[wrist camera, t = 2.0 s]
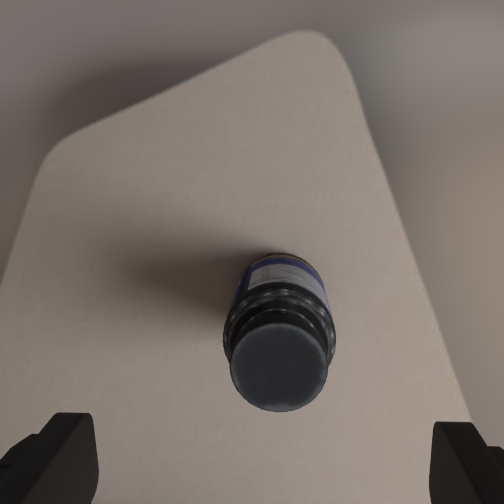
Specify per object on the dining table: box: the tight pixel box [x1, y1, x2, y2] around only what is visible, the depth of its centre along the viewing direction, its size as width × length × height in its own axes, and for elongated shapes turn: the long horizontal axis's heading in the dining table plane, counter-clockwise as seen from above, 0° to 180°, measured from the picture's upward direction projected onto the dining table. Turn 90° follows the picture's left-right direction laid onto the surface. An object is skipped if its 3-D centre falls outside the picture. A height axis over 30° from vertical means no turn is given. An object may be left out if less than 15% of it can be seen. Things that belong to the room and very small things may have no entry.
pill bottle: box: [223, 253, 336, 412], centre depth 28 cm, size 6×6×11 cm
